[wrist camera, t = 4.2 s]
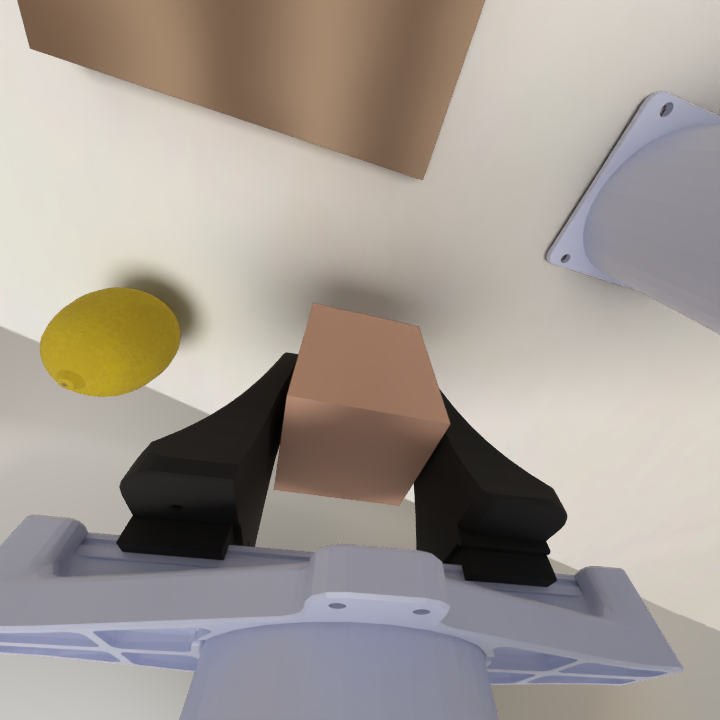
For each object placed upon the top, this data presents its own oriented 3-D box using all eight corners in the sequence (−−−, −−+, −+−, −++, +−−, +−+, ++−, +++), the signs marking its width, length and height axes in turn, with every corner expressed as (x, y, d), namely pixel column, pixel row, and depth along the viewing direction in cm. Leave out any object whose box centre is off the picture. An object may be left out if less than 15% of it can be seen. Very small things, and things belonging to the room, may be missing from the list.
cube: (418, 326, 14) (450, 424, 9) (387, 401, 17) (399, 505, 12) (313, 303, 13) (286, 395, 8) (299, 385, 16) (273, 489, 11)
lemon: (118, 252, 18) (-17, 312, 12) (209, 295, 20) (135, 368, 13) (111, 321, 21) (-1, 400, 15) (192, 354, 23) (123, 438, 16)
